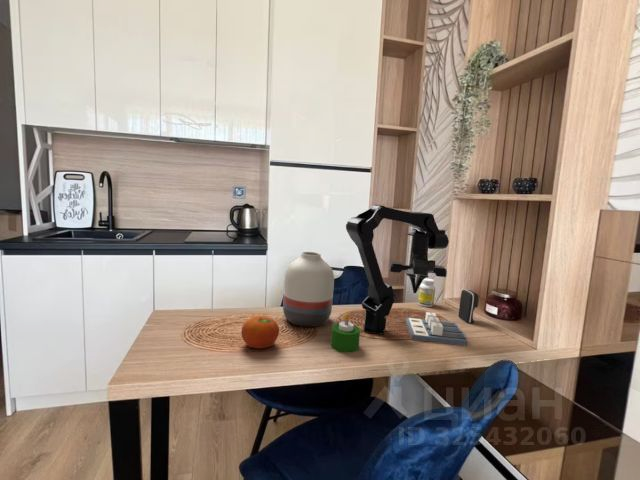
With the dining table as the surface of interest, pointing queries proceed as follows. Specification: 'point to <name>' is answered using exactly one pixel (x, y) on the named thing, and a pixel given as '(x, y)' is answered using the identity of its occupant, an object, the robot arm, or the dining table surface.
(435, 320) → the tab mid
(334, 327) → the candle
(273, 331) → the fruit
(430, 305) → the pill bottle
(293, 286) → the vase
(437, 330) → the tab near
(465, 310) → the dark grey upright slab
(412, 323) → the switch bank
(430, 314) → the tab far
